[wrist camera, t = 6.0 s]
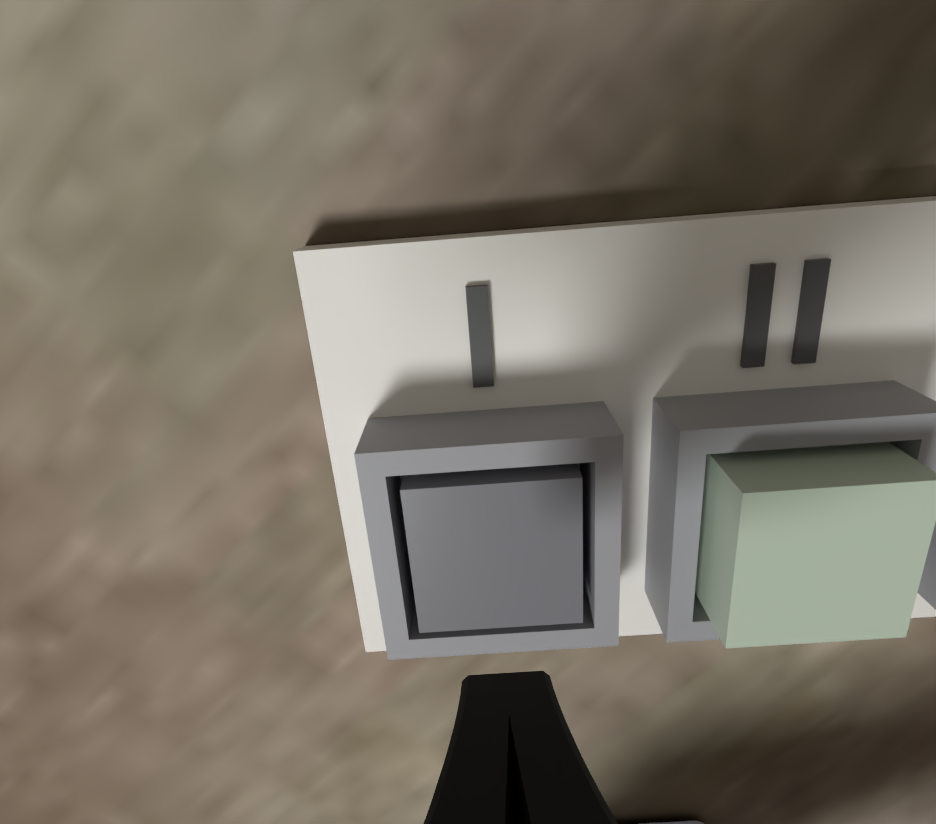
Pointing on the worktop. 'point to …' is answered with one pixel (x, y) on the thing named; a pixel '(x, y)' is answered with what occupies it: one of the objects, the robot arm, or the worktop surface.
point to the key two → (813, 543)
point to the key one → (495, 547)
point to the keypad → (614, 384)
